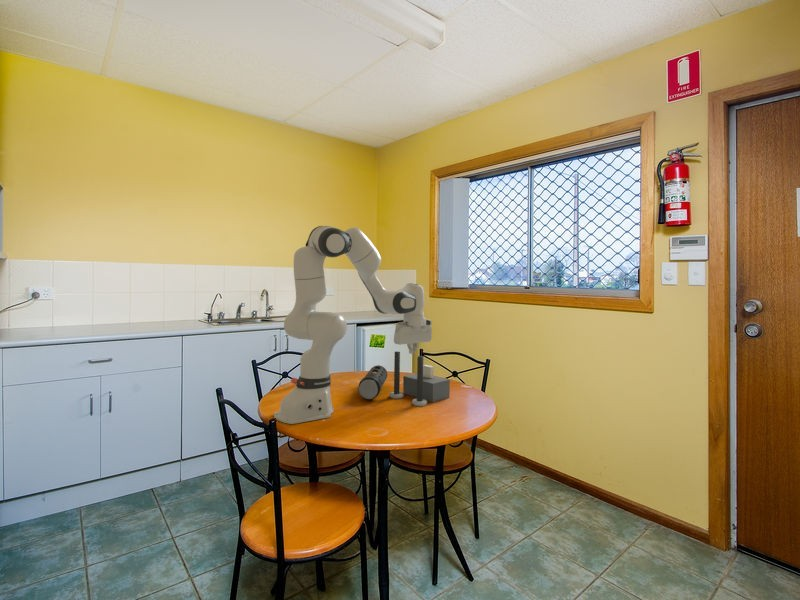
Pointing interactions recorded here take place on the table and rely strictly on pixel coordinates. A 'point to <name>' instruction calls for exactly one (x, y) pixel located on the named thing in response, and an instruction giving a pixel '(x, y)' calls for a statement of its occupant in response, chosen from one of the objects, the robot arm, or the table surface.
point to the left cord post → (396, 378)
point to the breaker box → (427, 387)
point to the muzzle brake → (372, 382)
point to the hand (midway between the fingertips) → (412, 353)
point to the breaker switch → (428, 371)
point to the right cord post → (419, 384)
